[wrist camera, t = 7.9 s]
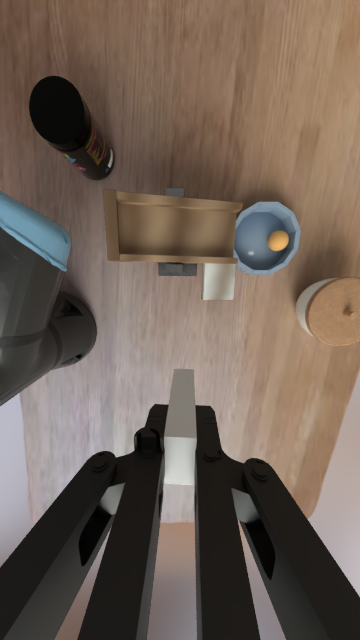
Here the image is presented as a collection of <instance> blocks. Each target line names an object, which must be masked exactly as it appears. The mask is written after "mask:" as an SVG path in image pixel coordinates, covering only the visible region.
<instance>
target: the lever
mask: <svg viewBox="0 0 360 640" xmlns="http://www.w3.org/2000/svg"><path fill="white" fill-rule="evenodd" d="M103 194H104V210H105V225H106V240H107V255H108V260H109V261H121V262H160V263H200V264H203V271H202V296H201V299H202V300H233V294H234V281H235V269H236V264H238V258H233V255H234V242H235V228H236V215H237V212H238V211H240V210H242V204H243V203H239V202H228V201H217V200H206V199H195V198H184V197H173V196H162V195H151V194H140V193H129V192H118V191H116V190H110V189H103Z"/></svg>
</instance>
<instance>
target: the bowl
mask: <svg viewBox="0 0 360 640" xmlns="http://www.w3.org/2000/svg"><path fill="white" fill-rule="evenodd" d="M275 231H284V232H286V233H287V234H288V237H289V242H288V244H287V246H286V247H285V248H284V249H282V250H280V251H273V250H271V249H270V248H269V247H268V238H269V236H270V235H271V234H272V233H273V232H275ZM300 231H301V229H300V227H299V224H298V222H297V219H296V217H295V215H294V213H293V212H292V211H291V210H290V209H288V208H287V207H285V206H284V205H282V204H281V203H279V202H258V203H256V204H254V205H253V206H251V207H249V208H248V209H246V210H244V211H242V212H241V213H240V214H239V216H238V217H237V218H236V228H235V242H234V255H233V258H238V264H236V268H237V269H239V270H240V271H242V272H243V273H245V274H264V275H270V274H272V273H274V272H275V271H277V270H279V269H281V268H283V267H285V266H287V264H288V263H289V261H290V260H291V259H292V257H293V256H294V254H295V253H296V251H297V250H298V245H299V238H300Z"/></svg>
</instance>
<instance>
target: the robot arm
mask: <svg viewBox="0 0 360 640" xmlns="http://www.w3.org/2000/svg"><path fill="white" fill-rule="evenodd" d="M70 249H71V238H70V236H69V234H68V232H67V231H66V230H65V229H64V228H63V227H62V226H60V225H59V224H57V223H55V222H54V221H52V220H50V219H48V218H47V217H45V216H43V215H41V214H40V213H38V212H36V211H34V210H33V209H31V208H29V207H27V206H26V205H24V204H22V203H20V202H18V201H17V200H15V199H13V198H12V197H10V196H8V195H6V194H4V193H3V192H1V191H0V406H1V405H3V404H4V403H6V402H7V401H8V400H10V399H11V398H13V397H14V396H15V395H17V394H18V393H20V392H21V391H22V390H24V389H25V388H27V387H28V386H29V385H31V384H32V383H34V382H35V381H36V380H38V379H39V378H41V377H42V376H43V375H45V374H46V373H48V372H49V371H50V370H53V369H58V368H62V367H66V366H70V365H72V364H75V363H77V362H78V361H80V360H81V359H83V358H84V357H85V356H86V355H87V354H88V353H89V352H90V351H91V350H92V348H93V346H94V344H95V341H96V334H97V331H96V324H95V321H94V318H93V316H92V314H91V312H90V311H89V309H88V308H87V307H86V306H85V305H84V304H83V303H82V302H81V301H80V300H78V299H77V298H75V297H73V296H71V295H69V294H66V293H62V292H59V289H60V286H61V283H62V279H63V276H64V273H65V272H67V267H66V265H67V261H68V256H69V252H70ZM134 448H135V451H133V452H132V453H130V454H128V455H125V456H121V457H117V458H116V457H115V455H114V454H113V453H111V452H109V451H102V452H98V453H96V454H95V455H93V456H92V457H91V458H89V459H88V460H87V462H86V463H85V464H84V465H83V467H82V468H81V469H80V470H79V471H78V473H77V474H76V475H75V476H74V478H73V479H72V480H71V481H70V483H69V484H68V485H67V486H66V487H65V489H64V490H63V491H62V492H61V494H60V495H59V496H58V497H57V499H56V500H55V501H54V502H53V503H52V505H51V506H50V507H49V508H48V510H47V511H46V512H45V513H44V515H43V516H42V517H41V518H40V519H39V521H38V522H37V523H36V524H35V526H34V527H33V528H32V529H31V531H30V532H29V533H28V534H27V535H26V537H25V538H24V539H23V541H22V542H21V543H20V544H19V545H18V547H17V548H16V549H15V550H14V552H13V553H12V554H11V555H10V556H9V558H8V559H7V560H6V561H5V563H4V564H3V565H2V566H1V567H0V640H54V639H55V637H56V635H57V633H58V631H59V629H60V627H61V625H62V623H63V621H64V619H65V617H66V615H67V613H68V611H69V609H70V607H71V605H72V603H73V601H74V599H75V597H76V595H77V593H78V592H79V590H80V587H81V586H82V584H83V582H84V580H85V578H86V576H87V574H88V571H89V570H90V567H91V566H92V564H93V562H94V560H95V558H96V556H97V554H98V552H99V550H100V548H101V546H102V544H103V542H104V540H105V538H106V536H107V534H108V532H109V530H110V528H111V531H110V534H109V537H108V541H107V544H106V547H105V551H104V554H103V557H102V560H101V564H100V567H99V570H98V573H97V577H96V580H95V583H94V587H93V590H92V593H91V597H90V600H89V603H88V606H87V610H86V613H85V616H84V619H83V623H82V626H81V629H80V633H79V636H78V640H147V632H148V624H149V615H150V607H151V598H152V589H153V580H154V572H155V563H156V554H157V545H158V537H159V528H160V520H161V511H162V502H163V485H164V483H167V484H184V485H195V494H194V511H195V552H196V553H195V557H196V606H197V607H196V609H197V640H260V635H259V630H258V624H257V619H256V614H255V609H254V604H253V598H252V593H251V588H250V583H249V578H248V573H247V567H246V563H245V557H244V552H243V546H242V541H241V536H240V531H239V525H238V520H239V521H240V524H241V526H242V529H243V532H244V534H245V536H246V539H247V542H248V544H249V547H250V549H251V552H252V554H253V557H254V559H255V562H256V564H257V567H258V570H259V572H260V575H261V577H262V580H263V582H264V585H265V587H266V590H267V592H268V595H269V597H270V600H271V602H272V605H273V607H274V610H275V612H276V615H277V617H278V620H279V622H280V625H281V627H282V630H283V632H284V635H285V638H286V640H360V597H359V595H358V594H357V592H356V591H355V589H354V588H353V586H352V585H351V584H350V582H349V581H348V579H347V578H346V576H345V575H344V573H343V572H342V570H341V569H340V567H339V566H338V564H337V563H336V561H335V560H334V558H333V557H332V555H331V554H330V552H329V551H328V549H327V548H326V546H325V545H324V544H323V542H322V540H321V539H320V538H319V536H318V535H317V533H316V532H315V530H314V529H313V527H312V526H311V524H310V523H309V521H308V520H307V518H306V517H305V515H304V514H303V512H302V511H301V509H300V508H299V506H298V505H297V503H296V502H295V500H294V499H293V497H292V496H291V494H290V493H289V492H288V490H287V489H286V487H285V486H284V484H283V483H282V481H281V480H280V478H279V477H278V475H277V474H276V472H275V471H274V469H273V468H272V467H271V466H270V465H269V464H268V463H266V462H265V461H263V460H260V459H257V458H251V459H248V460H246V462H245V463H241V462H238V461H235V460H233V459H231V458H230V457H228V456H227V455H226V454H225V453H224V451H223V450H222V448H221V444H220V438H219V433H218V427H217V422H216V416H215V412H214V410H213V409H212V408H211V406H199V405H195V388H194V370H192V369H174V375H173V381H172V388H171V394H170V400H169V405H163V404H154V406H153V407H152V408H151V409H150V411H149V415H148V418H147V422H146V425H145V427H144V428H141V429H140V430H138V431H137V432H136V434H135V435H134ZM237 519H238V520H237ZM111 526H112V527H111Z"/></svg>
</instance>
